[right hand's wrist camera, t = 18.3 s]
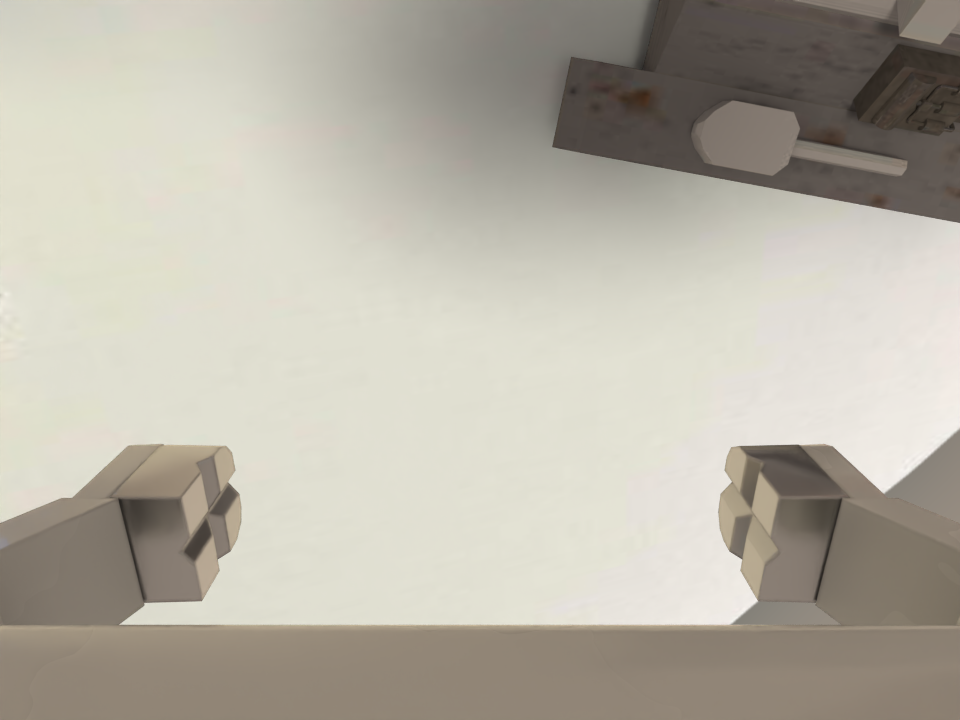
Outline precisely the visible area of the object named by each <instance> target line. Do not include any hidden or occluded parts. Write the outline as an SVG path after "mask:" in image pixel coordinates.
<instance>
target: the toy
mask: <svg viewBox="0 0 960 720" xmlns="http://www.w3.org/2000/svg"><path fill="white" fill-rule="evenodd" d="M552 147H555V148H560V149H565V150H570V151H575V152H580V153H585V154H591V155H596V156H602V157H607V158H612V159H618V160H623V161H629V162H634V163H639V164H645V165H650V166H656V167H661V168H666V169H672V170H677V171H683V172H688V173H693V174H699V175H704V176H710V177H715V178H720V179H726V180H731V181H737V182H742V183H747V184H753V185H758V186H764V187H769V188H774V189H780V190H785V191H791V192H796V193H801V194H807V195H812V196H818V197H823V198H828V199H834V200H839V201H845V202H850V203H855V204H861V205H866V206H872V207H877V208H882V209H888V210H893V211H899V212H904V213H909V214H915V215H920V216H926V217H931V218H936V219H942V220H947V221H953V222H958V223H960V0H660V1H659V5H658V9H657V13H656V17H655V21H654V26H653V30H652V34H651V38H650V42H649V46H648V50H647V54H646V58H645V62H644V66H643V70H639V69H634V68H629V67H623V66H618V65H613V64H608V63H603V62H597V61H591V60H586V59H580V58H574V57H571V62H570V66H569V71H568V76H567V80H566V85H565V90H564V95H563V99H562V104H561V109H560V113H559V118H558V123H557V128H556V132H555V137H554V142H553V146H552Z"/></svg>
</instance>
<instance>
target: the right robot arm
mask: <svg viewBox="0 0 960 720" xmlns="http://www.w3.org/2000/svg"><path fill="white" fill-rule="evenodd" d="M234 472H235V466H234V461H233V456H232V452H231V451H230V450H229V449H228V447H227V446H203V445H163V444H149V445H131V446H128V447H126V448H125V449H124V450H123V451H122V452H121V453H120V454H119V455H118V456H117V457H116V458H115V459H114V460H112V461H111V462H110V463H109V464H108V465H107V466H106V467H105V468H104V469H103V470H102V471H101V472H100V473H98V474H97V475H96V476H95V477H94V478H93V479H92V480H91V481H90V482H89V483H88V484H87V485H86V486H85V487H83V488H82V489H81V490H80V491H79V492H78V493H77V494H76V495H75V496H74V497H73V498H61V499H58V500H56V501H53V502H51V503H49V504H46V505H44V506H41V507H39V508H36V509H34V510H31V511H29V512H26V513H24V514H22V515H19V516H17V517H14V518H12V519H9V520H7V521H4V522H2V523H0V720H960V523H958V522H955V521H953V520H950V519H948V518H945V517H943V516H941V515H938V514H936V513H933V512H931V511H928V510H926V509H924V508H921V507H919V506H916V505H914V504H911V503H909V502H907V501H904V500H902V499H899V498H887V497H886V496H885V495H884V494H883V493H882V492H881V491H880V490H879V489H878V488H877V487H876V486H874V485H873V484H872V483H871V482H870V481H869V480H868V479H867V478H866V477H865V476H864V475H863V474H862V473H861V472H859V471H858V470H857V469H856V468H855V467H854V466H853V465H852V464H851V463H850V462H849V461H848V460H847V459H846V458H844V457H843V456H842V455H841V454H840V453H839V452H838V451H837V450H836V449H835V448H834V447H833V446H829V445H826V444H813V445H766V446H737V447H731V449H730V451H729V453H728V456H727V459H726V465H725V472H726V473H727V475H728V476H729V478H730V479H731V481H732V483H731V484H730V485H729V486H728V487H727V488H726V489H725V490H724V491H723V492H722V493H721V495H720V503H719V511H718V513H719V525H720V531H721V534H722V537H723V540H724V542H725V544H726V546H727V548H728V550H729V551H730V552H731V553H733V554H735V555H736V556H738V557H739V558H741V559H742V565H741V570H740V571H741V572H742V574H743V576H744V578H745V579H746V581H747V583H748V584H749V586H750V588H751V590H752V591H753V593H754V595H755V597H756V598H757V600H758V601H771V602H808V603H816V606H817V607H819V608H820V609H821V610H823V611H824V612H825V613H827V614H828V615H829V616H831V617H832V618H833V619H835V620H836V621H837V622H839V623H840V624H841V625H119V624H120V623H122V622H123V621H124V620H126V619H127V618H128V617H130V616H131V615H132V614H134V613H135V612H136V611H138V610H139V609H140V608H142V607H143V606H144V603H152V602H188V601H202V600H203V598H204V597H205V595H206V593H207V591H208V590H209V588H210V586H211V585H212V583H213V581H214V579H215V578H216V576H217V574H218V572H219V571H220V570H219V565H218V559H219V558H221V557H222V556H224V555H225V554H227V553H229V552H230V551H231V550H232V548H233V546H234V544H235V542H236V540H237V538H238V533H239V529H240V525H241V502H240V495H239V493H238V492H237V491H236V490H235V489H234V488H233V487H232V486H231V485H230V484H229V483H228V481H229V479H230V478H231V476H232V475H233V473H234Z"/></svg>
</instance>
